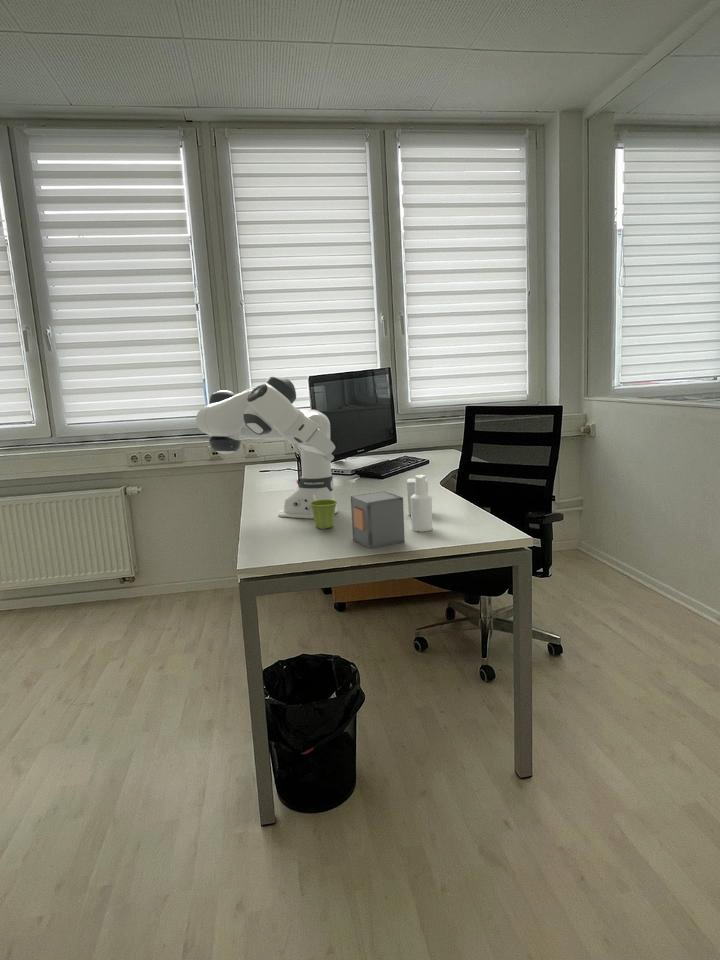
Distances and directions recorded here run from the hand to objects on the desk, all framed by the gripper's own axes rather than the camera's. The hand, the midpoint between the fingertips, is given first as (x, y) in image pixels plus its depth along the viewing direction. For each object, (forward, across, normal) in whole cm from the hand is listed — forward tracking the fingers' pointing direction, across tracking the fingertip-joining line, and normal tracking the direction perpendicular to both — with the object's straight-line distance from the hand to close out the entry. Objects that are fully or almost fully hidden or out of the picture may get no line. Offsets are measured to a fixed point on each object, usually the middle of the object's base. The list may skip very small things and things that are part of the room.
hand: (331, 459), depth 175 cm
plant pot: (+24, -26, -15) cm, 39 cm away
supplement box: (+50, -24, +11) cm, 56 cm away
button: (+23, 0, -9) cm, 25 cm away
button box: (+29, 0, -9) cm, 31 cm away
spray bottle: (+42, -4, +3) cm, 43 cm away
